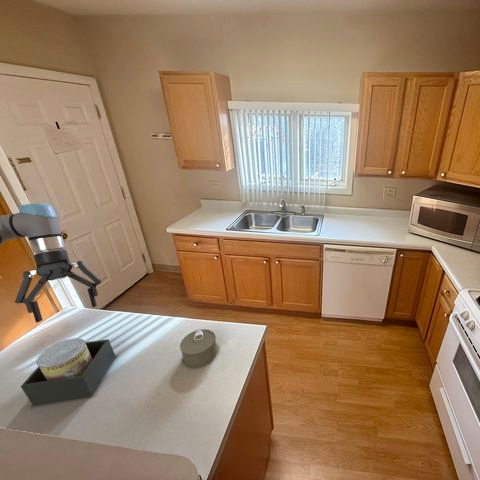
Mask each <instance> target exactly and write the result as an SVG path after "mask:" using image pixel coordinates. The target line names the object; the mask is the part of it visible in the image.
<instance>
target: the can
mask: <svg viewBox="0 0 480 480" xmlns="http://www.w3.org/2000/svg"><path fill="white" fill-rule="evenodd" d="M216 337H217V336H216V333H215V332H214V331H212V330H210V329H206V328H205V329H204V328H203V329H202V328H201V329H198V330H194V331H192V332H189V333H187V335H186V336H184V338H183V339H181V341H180V344H179V349H180V351H181V354H182V358H183V362H184V364H185V365H186V366H188V367H190V368H200V367H203V366H206V365H208V364H209V363H210V362H212V361H213V360H214V359H215V358H216V356H217V354H218V348H217V342H216V339H217V338H216Z"/></svg>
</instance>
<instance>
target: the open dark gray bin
mask: <svg viewBox="0 0 480 480" xmlns="http://www.w3.org/2000/svg"><path fill="white" fill-rule="evenodd" d="M85 343H86V346H87V348H88V350H89V353H90V355H91V357H92V359H93V360H92V361H91V363H90V364H89V366H88V367H87V369H86V370H85V372H84V373H83V374H82V376H76V377H69V378H63V379H56V380H49V381H47V380H46V378H45V376H44V374H43V373H42V371H41V369H40V368H39V366H37V367H36V369H34V371H33V372H32V373H31V374H30V375H29V376H28V378H27V379H25V381H24V382H23V383H22V384H21V385H20V388H21V389H22V391H23V393H24V394H25V395H26V397H27V399H28V400H29V402H30V403H31V405H32V406H41V405H46V404H53V403H59V402H65V401H70V400H77V399H83V398H90V397H93V396H94V394H95V392H96V391H97V389H98V388H99V386H100V384H101V383H102V381H103V379H104V377H105V376H106V374H107V373H108V371H109V369H110V367H111V365H112V364H113V363H114V361H115V359H116V357H117V356H116V354H115V351H114V349H113V347H112V344H111V341H110V339H109V338H108V339H100V340H91V341H85Z"/></svg>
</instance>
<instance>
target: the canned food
mask: <svg viewBox="0 0 480 480" xmlns="http://www.w3.org/2000/svg"><path fill="white" fill-rule="evenodd" d="M85 342H86V340H84V338H80V337H79V338H78V337H77V338H69V339H65V340H62V341H59V342H57V343H55V344H53V345H50V346H49V347H48V348H46V349H44V351H42V352H40V354H39V356H38V357H37V359H36V365H37V367H39V368H40V369H41V371H42V373H43V374H44V376H45V378H46V380H47V381H49V380H56V379H63V378H69V377H76V376H82V374H83V373H84V372H85V370H86V369H87V367H88V366H89V364H90V363H91V361H92V360H93V359H92V357H91V355H90V353H89V350H88V348H87V346H86V343H85Z"/></svg>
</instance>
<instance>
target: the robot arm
mask: <svg viewBox="0 0 480 480" xmlns="http://www.w3.org/2000/svg"><path fill="white" fill-rule="evenodd" d="M20 238H27V240H28V243H29V246H30V250H31V253H33V254H34V255H33V259H34V263H35V266H36V270H25V271H23V272H22V278H23V279H22V282H21V285H20V287H19V289H18V292H17V295H16V298H15V300H14V303H15V304H25V308H26V310H27V313H28V314H33V317H34V321H35V323H36V324H38V323H40V322H42V321H43V319H44V318H43V317H42V312H41V310H40V307H39V302H38V300H35V298H36V297H37V296H38V294H39V293H40V292H41V290H42V289H43V288H44V286H45V285H46V284H47V283H48V281H51V282H52V281H55V280H57V279H59V280H60V279H64V278H66V277H68V278H70V279H72V280H74V281H77V282H78V283H80V284H83V285H84V286H86V287H89V288H87V293H88V297H89V300H90V303H91V307H92V308H95V307H97V306H98V305H97V301H96V297H97V296H99V294H98V290H97V286H98V285H100V284H102V283H103V282H102V280H101V279H100V278H99V277H98V276H96V275H95V273H94V272H92V271H91V270H90V269H89V268H88V267H86V265H85V262H84V261H83V260H78V261H76V262H71V261H70V257H69V255H68V254H69V253H68V251H67V250H66V249H65V248H66V245H65V241H64V237H63V234H62V232H61V227H60V224H59V219H58V216H57V213H56V211H55V209H54V207H53V205H51V204H49V203H42V202H41V203H39V202H38V203H26V204H21V205H19V207H18V212H16V213H11V214H3V215H0V246H1V245H2V244H4V243H6V242H7V241H10V240H13V239H14V240H15V239H20ZM73 267H75V268H76V269H79V270H80V271H81V272H82V273H83V274H84V275H85V276H87V277H88V278H89V279H90V280H91V281H90V280H88V279H87V278H84V277H83V276H80V275H78V274H77V273H75V272H74V271H72V269H73ZM36 274H37V275H38V276H39V277H40V278H39V280H38V281H37V283H36V285H35V286H34V287H33V289H32V290H31V291H30V293H28V291H29V289H30V286H31V283H32V280H33V278H34V277H36ZM27 294H28V295H27Z"/></svg>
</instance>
